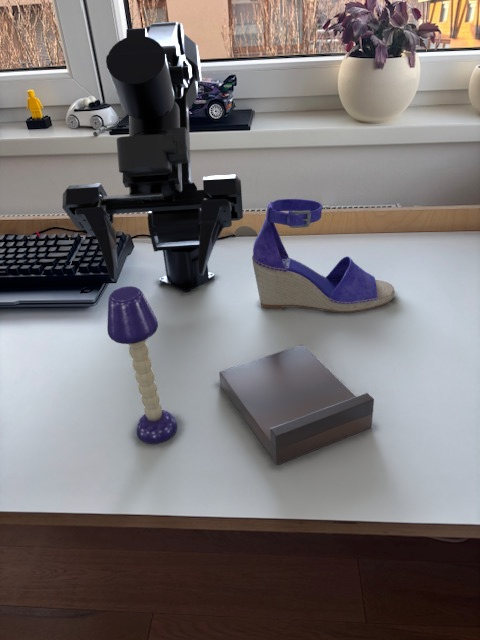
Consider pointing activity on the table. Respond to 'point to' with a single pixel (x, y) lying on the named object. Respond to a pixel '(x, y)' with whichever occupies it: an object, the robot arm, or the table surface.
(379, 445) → the table surface
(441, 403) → the table surface
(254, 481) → the table surface
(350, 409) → the shoe shelf
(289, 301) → the sandal
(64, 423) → the table surface
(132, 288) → the toy lamp
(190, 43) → the robot arm
